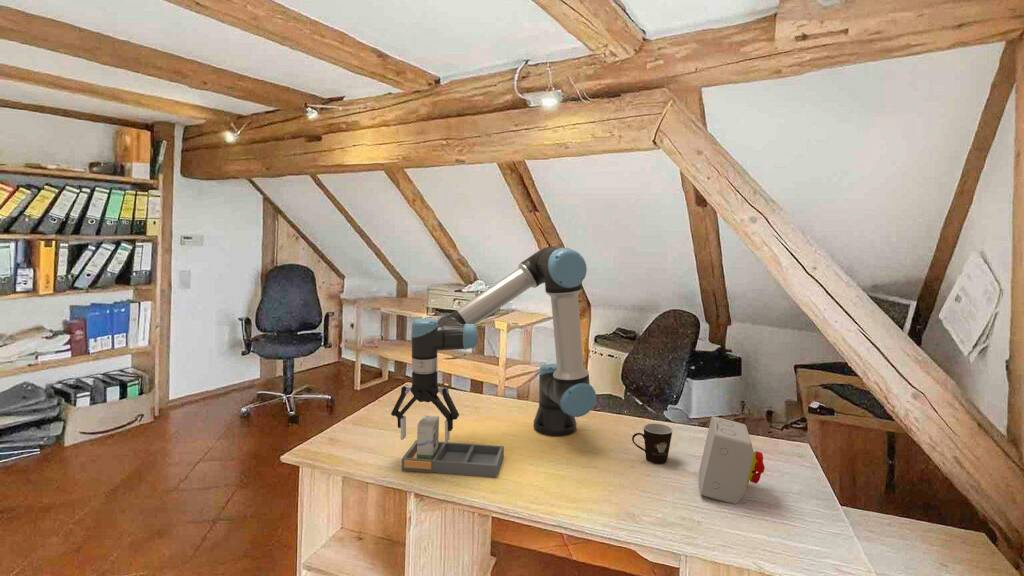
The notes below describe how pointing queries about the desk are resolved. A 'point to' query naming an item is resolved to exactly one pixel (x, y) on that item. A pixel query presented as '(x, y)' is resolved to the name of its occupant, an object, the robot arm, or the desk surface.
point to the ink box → (427, 437)
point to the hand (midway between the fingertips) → (425, 439)
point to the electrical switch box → (728, 461)
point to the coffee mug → (656, 442)
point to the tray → (457, 459)
